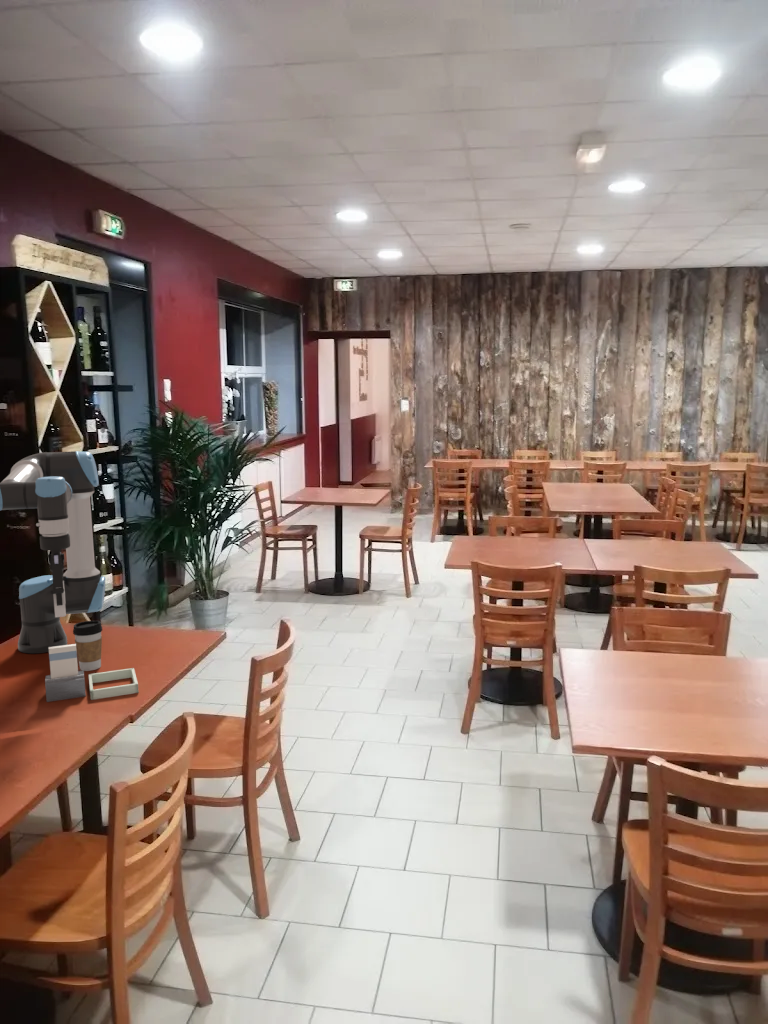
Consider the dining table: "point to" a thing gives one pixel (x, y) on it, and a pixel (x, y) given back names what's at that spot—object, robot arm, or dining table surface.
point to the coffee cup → (88, 644)
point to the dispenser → (65, 687)
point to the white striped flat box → (63, 661)
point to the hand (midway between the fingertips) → (60, 610)
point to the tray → (116, 689)
